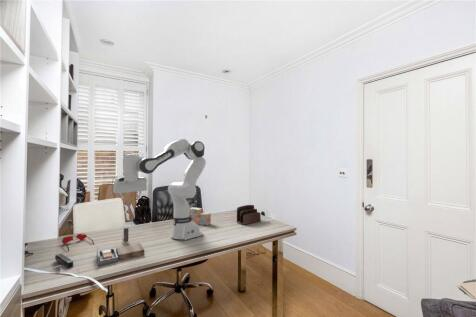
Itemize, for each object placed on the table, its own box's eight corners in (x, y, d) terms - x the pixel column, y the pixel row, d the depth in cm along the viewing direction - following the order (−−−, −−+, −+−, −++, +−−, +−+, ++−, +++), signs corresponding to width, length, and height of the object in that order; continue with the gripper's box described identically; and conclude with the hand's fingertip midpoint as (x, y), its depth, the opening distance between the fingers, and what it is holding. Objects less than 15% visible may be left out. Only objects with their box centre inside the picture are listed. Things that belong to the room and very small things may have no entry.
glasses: (86, 239, 155) (86, 231, 155) (94, 245, 144) (94, 237, 145) (61, 244, 145) (61, 237, 145) (68, 251, 134) (68, 243, 134)
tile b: (103, 254, 122) (103, 259, 122) (103, 257, 118) (103, 262, 118) (111, 252, 124) (111, 257, 124) (112, 255, 121) (112, 260, 121)
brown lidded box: (236, 222, 198) (236, 206, 198) (253, 219, 210) (253, 203, 210) (243, 225, 190) (243, 208, 190) (260, 221, 202) (260, 205, 202)
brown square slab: (139, 248, 139) (139, 243, 139) (144, 254, 129) (144, 249, 129) (116, 252, 131) (116, 247, 131) (118, 260, 121) (118, 254, 121)
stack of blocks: (210, 224, 193) (210, 209, 193) (206, 225, 187) (206, 211, 188) (192, 220, 204) (192, 206, 204) (187, 222, 199) (187, 208, 199)
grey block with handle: (126, 241, 150) (126, 225, 150) (129, 248, 139) (130, 230, 139) (122, 242, 149) (122, 225, 149) (125, 249, 137) (125, 231, 138)
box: (114, 252, 132) (114, 243, 132) (118, 261, 120) (118, 252, 120) (96, 255, 127) (96, 247, 127) (98, 266, 115) (98, 256, 115)
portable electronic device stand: (54, 259, 122) (54, 254, 123) (60, 258, 125) (60, 252, 125) (67, 269, 112) (67, 263, 112) (73, 267, 114) (73, 261, 114)
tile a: (102, 250, 127) (102, 255, 127) (102, 253, 123) (102, 257, 123) (110, 249, 129) (110, 253, 129) (111, 251, 126) (110, 256, 126)
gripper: (145, 176, 158) (146, 196, 159) (112, 178, 146) (113, 199, 147) (147, 177, 153) (148, 197, 153) (114, 179, 141) (114, 201, 141)
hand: (130, 198), depth 150 cm, fingers open, 8 cm apart
